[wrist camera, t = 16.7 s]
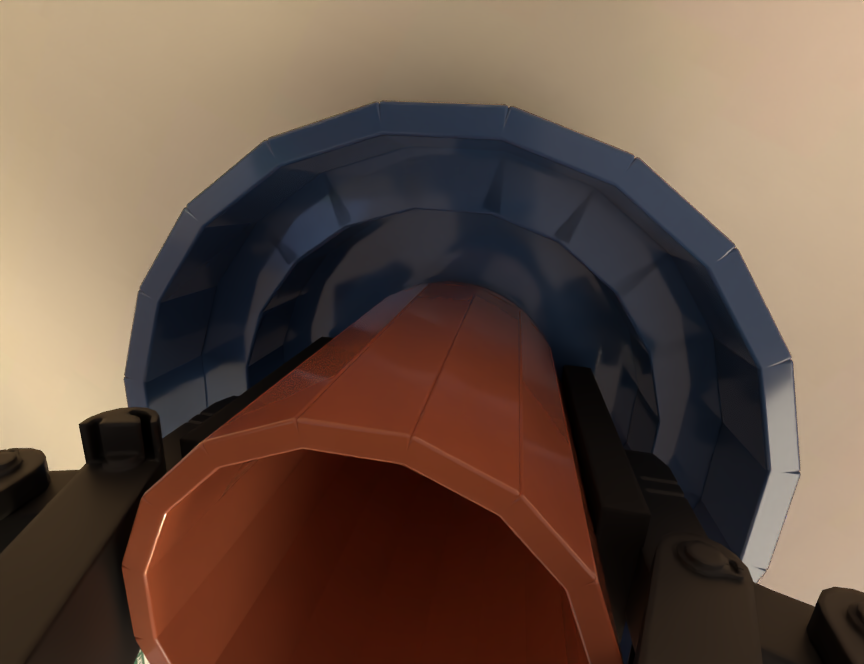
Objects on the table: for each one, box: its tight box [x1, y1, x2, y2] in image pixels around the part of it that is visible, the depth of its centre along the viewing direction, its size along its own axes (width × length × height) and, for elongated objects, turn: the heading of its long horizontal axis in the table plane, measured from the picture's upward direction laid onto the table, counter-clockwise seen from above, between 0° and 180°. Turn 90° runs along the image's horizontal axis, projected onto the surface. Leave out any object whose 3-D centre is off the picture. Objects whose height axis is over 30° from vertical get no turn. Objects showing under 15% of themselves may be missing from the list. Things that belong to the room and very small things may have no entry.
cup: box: [121, 281, 624, 664], centre depth 10 cm, size 7×7×9 cm
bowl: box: [124, 101, 800, 664], centre depth 13 cm, size 15×15×5 cm
